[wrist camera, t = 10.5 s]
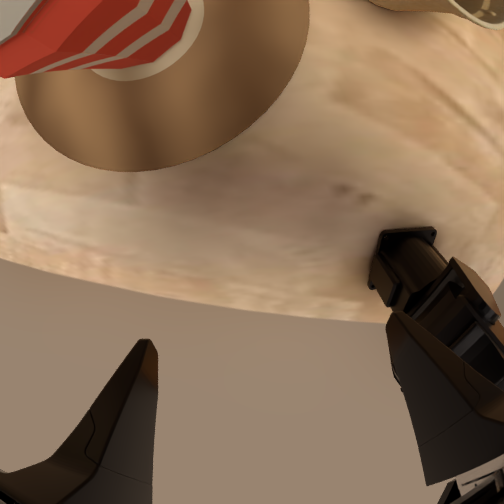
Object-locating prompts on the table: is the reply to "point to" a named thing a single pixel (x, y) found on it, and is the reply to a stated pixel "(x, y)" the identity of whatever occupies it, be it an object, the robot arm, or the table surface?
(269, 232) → the table surface
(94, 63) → the beverage can
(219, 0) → the lazy susan
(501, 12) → the flower pot
